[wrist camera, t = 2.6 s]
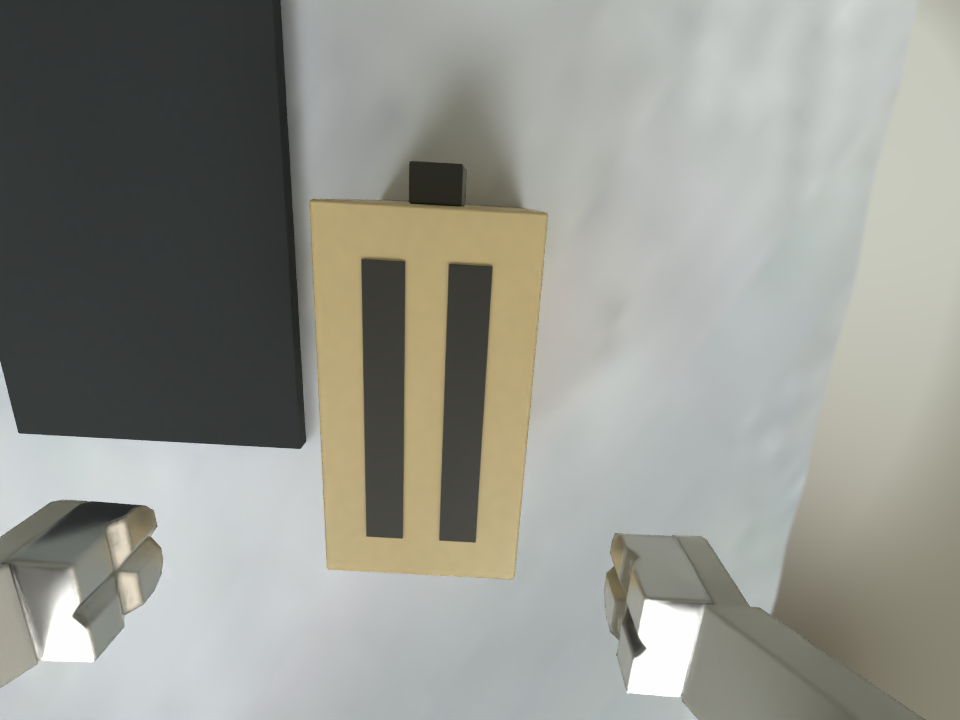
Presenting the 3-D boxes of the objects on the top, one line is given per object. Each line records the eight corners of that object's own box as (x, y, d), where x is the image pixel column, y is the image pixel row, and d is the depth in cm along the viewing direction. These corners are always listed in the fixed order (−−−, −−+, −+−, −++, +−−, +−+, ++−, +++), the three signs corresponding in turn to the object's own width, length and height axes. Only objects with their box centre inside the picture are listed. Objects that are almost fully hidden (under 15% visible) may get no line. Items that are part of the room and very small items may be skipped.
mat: (306, 441, 25) (300, 449, 25) (32, 426, 25) (18, 433, 25) (279, -22, 19) (270, -31, 19) (-82, -43, 19) (-105, -54, 18)
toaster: (505, 452, 25) (514, 582, 17) (380, 445, 25) (325, 572, 17) (526, 179, 21) (553, 164, 13) (378, 170, 21) (304, 149, 13)
